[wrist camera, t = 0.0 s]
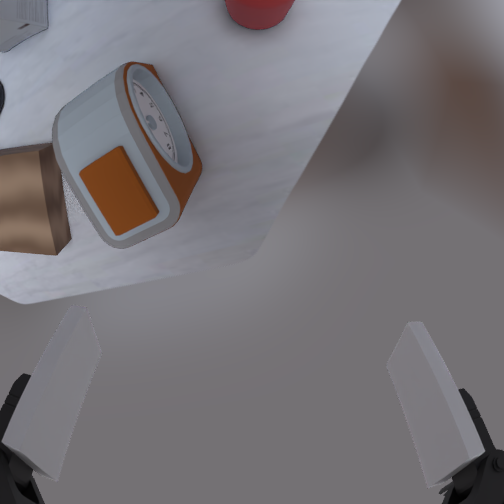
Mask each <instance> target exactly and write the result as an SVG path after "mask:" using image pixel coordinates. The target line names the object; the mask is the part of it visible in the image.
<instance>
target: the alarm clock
mask: <svg viewBox="0 0 504 504" xmlns="http://www.w3.org/2000/svg"><path fill="white" fill-rule="evenodd" d="M52 144H53V148H54V153H55V157H56V160H57V162H58V165H59V167H60V169H61V171H62V174H63V176H64V178H65V179H66V181H67V183H68V185H69V186H70V188H71V190H72V192H73V193H74V195H75V197H76V198H77V200H78V202H79V203H80V205H81V207H82V208H83V210H84V212H85V213H86V215H87V217H88V218H89V220H90V221H91V223H92V225H93V226H94V228H95V229H96V231H97V232H98V234H99V236H100V237H101V238H102V239H103V241H104V242H106V243H107V244H108V245H110V246H112V247H114V248H119V249H124V248H128V247H131V246H133V245H135V244H137V243H139V242H141V241H144V240H146V239H148V238H150V237H152V236H154V235H156V234H159V233H161V232H163V231H165V230H167V229H169V228H171V227H173V226H174V225H175V224H176V223H177V222H178V220H179V218H180V216H181V214H182V212H183V209H184V207H185V205H186V203H187V201H188V199H189V197H190V195H191V193H192V191H193V188H194V186H195V184H196V182H197V180H198V178H199V176H200V174H201V171H202V163H201V160H200V158H199V156H198V154H197V152H196V150H195V148H194V146H193V144H192V142H191V140H190V138H189V136H188V134H187V132H186V129H185V127H184V124H183V122H182V120H181V117H180V115H179V113H178V111H177V109H176V107H175V105H174V104H173V102H172V100H171V98H170V97H169V95H168V93H167V92H166V90H165V89H164V87H163V85H162V83H161V81H160V79H159V77H158V75H157V73H156V71H155V69H154V67H153V65H150V64H144V63H138V62H128V63H125V64H123V65H122V66H120V67H119V68H117V69H115V70H114V71H112V72H111V73H109V74H108V75H106V76H105V77H103V78H102V79H100V80H99V81H98V82H96V83H95V84H93V85H92V86H90V87H89V88H88V89H86V90H85V91H84V92H82V93H81V94H80V95H78V96H77V97H76V98H74V99H73V100H72V101H70V102H69V103H68V104H67V105H65V106H64V107H63V108H62V109H61V110H60V111H59V113H58V114H57V115H56V117H55V120H54V124H53V127H52Z"/></svg>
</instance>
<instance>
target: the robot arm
mask: <svg viewBox="0 0 504 504" xmlns="http://www.w3.org/2000/svg"><path fill="white" fill-rule="evenodd" d="M101 354H102V351H101V348H100V346H99V343H98V340H97V337H96V334H95V331H94V328H93V325H92V322H91V319H90V315H89V312H88V309H87V307H84V306H76V305H71V306H70V308H69V310H68V311H67V313H66V314H65V316H64V318H63V319H62V321H61V323H60V325H59V326H58V328H57V330H56V331H55V333H54V335H53V337H52V338H51V340H50V342H49V344H48V345H47V347H46V349H45V351H44V353H43V355H42V356H41V359H40V360H39V362H38V364H37V366H36V368H35V370H34V372H33V374H32V375H27V374H22V375H21V376H20V377H19V378H18V379H17V380H16V381H15V382H14V384H13V386H12V388H11V390H10V392H9V395H8V396H7V398H6V400H5V404H3V406H2V408H1V410H0V504H45V503H44V501H43V499H42V496H41V494H40V492H39V489H38V487H37V485H36V482H35V480H34V478H33V476H32V472H33V470H34V471H35V472H37V473H38V474H39V475H41V476H43V477H45V478H48V479H50V480H53V481H56V482H58V479H59V475H60V471H61V468H62V464H63V461H64V458H65V455H66V451H67V448H68V445H69V442H70V439H71V436H72V433H73V429H74V427H75V424H76V420H77V418H78V415H79V412H80V409H81V406H82V404H83V401H84V398H85V396H86V393H87V390H88V388H89V385H90V382H91V380H92V377H93V374H94V372H95V369H96V367H97V364H98V362H99V359H100V357H101ZM386 366H387V369H388V371H389V374H390V377H391V379H392V382H393V384H394V387H395V390H396V393H397V395H398V398H399V401H400V403H401V407H402V409H403V412H404V415H405V418H406V421H407V424H408V427H409V430H410V433H411V436H412V438H413V442H414V445H415V448H416V451H417V455H418V457H419V460H420V464H421V468H422V471H423V474H424V478H425V481H426V485H427V488H431V487H434V486H436V485H439V484H442V483H444V482H445V481H447V480H448V479H450V478H451V477H452V480H453V481H452V482H451V483H450V484H448V485H447V486H445V487H444V488H442V489H441V491H440V492H439V494H442V493H443V492H445V491H447V490H448V491H447V492H446V493H445V494H444V496H445V498H444V500H443V503H442V504H504V451H502V450H496V448H495V447H494V445H493V443H492V440H491V438H490V436H489V433H488V431H487V429H486V427H485V424H484V422H483V420H482V418H481V417H480V416H481V415H480V413H479V411H478V410H477V409H476V408H477V407H476V405H475V403H474V401H473V399H472V397H471V396H470V395H469V394H468V393H467V391H465V389H459V390H458V389H457V387H456V384H455V383H454V380H453V378H452V377H451V374H450V373H449V371H448V369H447V367H446V365H445V363H444V361H443V359H442V357H441V355H440V353H439V352H438V350H437V348H436V346H435V344H434V342H433V341H432V339H431V337H430V335H429V333H428V332H427V330H426V328H425V326H424V325H423V323H422V322H407V325H406V327H405V329H404V331H403V333H402V335H401V337H400V339H399V341H398V343H397V345H396V347H395V349H394V351H393V353H392V354H391V356H390V359H389V360H388V362H387V364H386Z"/></svg>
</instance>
